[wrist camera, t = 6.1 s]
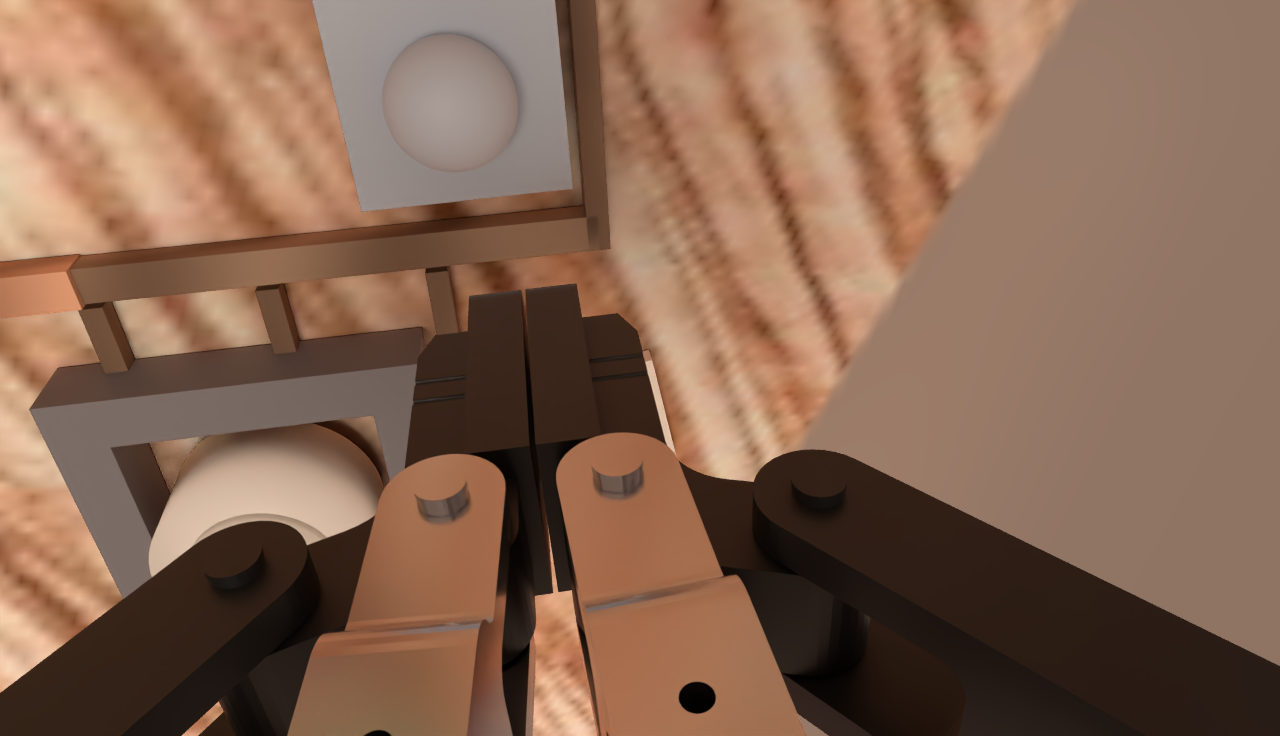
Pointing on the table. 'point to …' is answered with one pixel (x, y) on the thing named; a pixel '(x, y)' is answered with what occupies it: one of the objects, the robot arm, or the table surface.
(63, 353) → the table surface
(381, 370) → the gray square frame
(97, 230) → the table surface
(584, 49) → the open rectangular frame
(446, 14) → the cube with round knob
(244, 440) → the dome
